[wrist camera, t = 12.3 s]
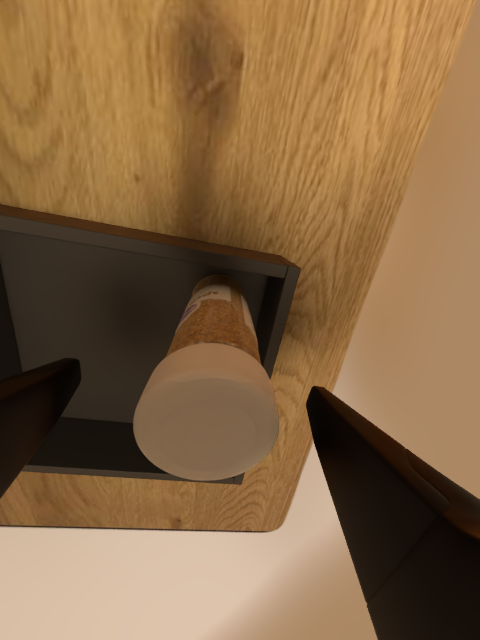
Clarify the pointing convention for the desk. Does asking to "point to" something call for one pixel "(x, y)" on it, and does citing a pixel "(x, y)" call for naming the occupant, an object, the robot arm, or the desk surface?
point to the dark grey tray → (115, 323)
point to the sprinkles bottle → (209, 391)
